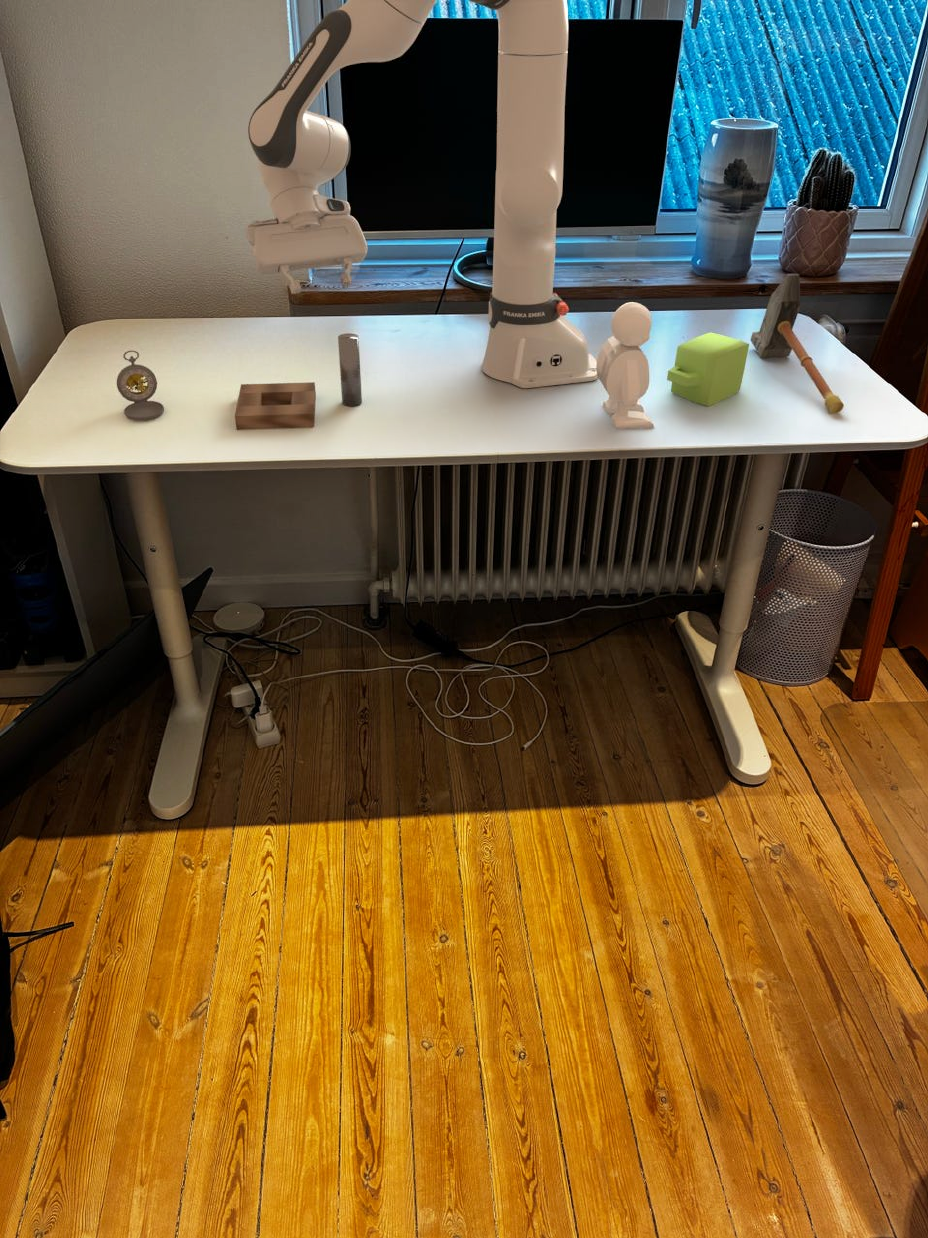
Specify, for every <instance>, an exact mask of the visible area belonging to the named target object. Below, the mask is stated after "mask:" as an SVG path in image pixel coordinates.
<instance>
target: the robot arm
mask: <svg viewBox="0 0 928 1238" xmlns="http://www.w3.org/2000/svg"><path fill="white" fill-rule="evenodd" d="M467 1H468V2H471V3H474V4H477V5H480V6H482V7H485V8H488V9H491V10H493V11H495V13H496V16H497V22H498V50H497V51H498V55H497V58H498V59H497V101H496V102H497V105H496V106H497V107H496V112H497V114H496V115H497V117H496V119H497V120H496V122H497V123H496V131H497V132H496V167H495V168H496V170H495V190H494V191H495V193H494V194H495V195H494V224H493V225H494V228H493V257H492V258H493V259H492V260H493V261H492V263H493V264H492V292H490V294H489V301H488V324H489V333H488V337H487V339H488V340H487V342H486V343H487V344H486V349H485V353H484V356H483V359H482V363H481V365H480V367H481V370H482V372H483V373H485V374H486V375H487V376H488V377H491V378H492V379H495V380H498V381H502V382H506V383H509V384H512V385H514V386H517V387H519V388H522V389H531V388H532V389H533V388H539V387H548V386H556V385H557V386H558V385H566V384H574V383H585V382H592V381H595V380H597V379H599V377H598V375H597V369H596V366H597V359H596V358H595V357H594V356H593V354H591V353H589V347H588V341H587V338H586V336H585V335H584V333H583V332H582V331H581V330H580V329H579V328H578V327H577V326H575V324H574V323H572V322H571V321H570V320H568V319H567V318H566V317H565V316H566V315H567V314H569V311H570V309H569V306H568V304H567V303H566V302H565V301H563V299H562V298H561V297H560V296H559V295H558V294H557V293H556V292H553V288H554V277H555V275H554V274H555V262H556V261H555V260H556V244H557V243H556V242H557V241H556V239H557V238H556V235H557V231H556V230H557V209H558V207H559V205H560V204H561V200H562V197H563V183H564V182H563V180H564V154H565V153H564V152H565V151H564V150H565V149H564V147H565V111H566V109H565V106H566V89H567V88H566V87H567V70H568V69H567V68H568V52H569V51H568V49H569V19H568V18H569V16H568V15H569V13H568V3H567V0H467ZM437 2H438V0H346V2H345V3H344V4H343V5H341V6H340V7H339V8H338V9H336V10H333V11H331V12H329V13H327V14H326V15H325V16H324V17H323V18H322V19H321V20H320V22H319V23H318V24H317V25H316V27H315V28H314V30H313V31H312V32H311V34H310V35H309V36H308V38H307V39H306V41H305V43H304V44H303V45H302V47H301V48H300V49H299V52H298V53H297V54H296V56H295V57H294V58H293V60H292V62H291V63H290V65H289V66H288V68H287V69H286V70H285V72H284V74H283V75H282V76H281V78H280V80H279V81H278V82H277V84H276V86H275V87H274V88H273V90H272V91H271V92H270V93H269V94H268V95H267V96H266V97H265V98H264V99H263V100H262V101H260V103H259V104H258V106H257V107H256V108H255V109H254V110H253V112H252V114H251V116H250V119H249V122H248V126H247V127H248V129H247V132H248V133H247V134H248V139H249V143H250V145H251V148H252V150H253V152H254V154H255V156H256V157H257V163H258V166H259V171H260V174H261V178H262V181H263V184H264V187H265V188H266V190H267V192H268V193H269V196H270V207H271V210H272V215H273V217H274V218H270V219H265V220H254V221H252V222H251V223H250V224H249V225H247V226H246V228H245V234H246V237H247V240H248V242H249V244H251V246H252V251H253V258H254V259H253V260H254V263H255V266H256V270H257V271H258V272H259V273H260V274H261V275H271V274H277V273H278V275H279V279H281V280H282V281H283V282H284V283H285V284H286V285H287V286H289V290H290V292H291V294H292V295H293V294H300V293H301V291H302V286H301V284H300V280H299V279H294V277H292V275H291V274H290V272H294V271H303V270H310V269H311V270H312V269H317V268H318V269H320V268H327V267H336V266H341V269H342V270H345V272H344V273H341V275H340V278H339V280H340V283H341V287H342V288H346V287H351V285H352V284H353V281H352V277H351V271H352V266H353V264H359V263H362V262H363V261H364V259H365V258H366V256H367V255H368V249H369V248H368V243H367V241H366V237H365V235H364V233H363V230H362V228H361V226H360V224H359V222H358V220H357V219H356V218H355V217H354V216H352V215H351V206H350V203H349V202H348V201H347V200H342V199H338V198H333V197H328V196H325V195H321V194H320V193H319V190H318V189H319V186H323V185H324V186H325V185H326V184H327V183H329V182H330V181H332V180H334V179H335V178H337V177H338V176H339V175H341V173H342V172H343V171H345V169H346V168H347V166H348V164H349V161H350V158H351V140H350V136H349V134H348V133H349V132H348V131H347V129H346V127H345V126H344V125H343V124H342V123H341V122H340V121H337V120H335V119H333V118H331V117H328V116H325V115H322V114H321V113H320V114H319V113H316V112H312V111H310V110H308V109H309V107H310V106H311V105H312V103H313V102H314V100H316V99H315V98H317V96H318V95H319V93H320V92H321V91H322V89H323V88H324V86H325V84H326V83H327V81H328V80H329V79H330V77H332V76H333V74H334V73H336V72H337V71H339V70H341V69H343V68H345V67H347V66H350V65H357V64H361V63H385V62H390V61H392V60H395V59H397V58H401V57H402V56H403V55H404V54H405V53H406V52H407V51H408V50H409V49H410V47H411V46H412V45H413V44H414V42H415V41H416V39H417V37H418V35H419V34H420V32H421V31H422V28H423V26H424V25H425V23H426V21H427V19H428V17H429V16H430V13H431V12H432V10H433V9H434V7H435V4H436V3H437Z"/></svg>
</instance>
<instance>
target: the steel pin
mask: <svg viewBox="0 0 928 1238" xmlns="http://www.w3.org/2000/svg"><path fill="white" fill-rule="evenodd" d="M359 341H360V339H359V335H358V334H356V333H352V332H351V333H349V332H347V333H342V334H339V335H338V336H337V344H338V355H339V356H338V357H339V358H338V359H339V372H340V373H339V374H340V375H339V376H340V388H341V389H340V390H341V402H342V406H345V407H350V408H351V407H359V406H360V405H362V403H363V400H362V395H363V394H362V380H361V379H362V377H361V361H360V358H361V357H360V342H359Z"/></svg>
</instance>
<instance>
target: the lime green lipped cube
mask: <svg viewBox="0 0 928 1238" xmlns="http://www.w3.org/2000/svg"><path fill="white" fill-rule="evenodd" d="M749 349H750V343H747V342H746V341H742V340H740V339H737V338H733V337H730V336H726V335H723V334H719V333H714V332H707V333H704V334H702V335H699V336H696V337H694V338H692V339H690V340H688V341H686V342H683V343H681V344H679V345H677V349H676V354H675V361H674V366H673V367H672V368H670V369H668V370H667V376H666V380H667V381H669V382H671V386H670V387H671V389H670V392H671V393H673V394H675V395H677V396H680V397H682V398H684V399H686V400H689V401H691V402H693V403H695V404H699V405H701V406H704V407H705V406H706V407H711V406H712V405H715V404H717V403H719V402H721V401H723V400H725V399H727V398H729V397H731V396H733V395H734V394H736V393H738V392H739V391H741V388H742V382H743V377H744V373H745V367H746V363H747V359H748V353H749Z"/></svg>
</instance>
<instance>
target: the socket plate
mask: <svg viewBox="0 0 928 1238" xmlns="http://www.w3.org/2000/svg"><path fill="white" fill-rule="evenodd" d="M316 393H317V392H316V383H315V382H314V381H313V382H312V381H311V382H279V383H278V382H277V383H275V382H274V383H272V382H271V383H243V384H242V383H241V384H240V388H239V393H238V396H237V397H238V398H237V403H236V408H235V413H234V421H235V425H236V428H235V429H236V430H237V431H238V430H239V431H240V430H267V429H270V430H271V429H273V430H275V429H298V428H299V429H303V428H304V429H305V428H315V423H316V422H315V419H316V399H317V397H316V396H317V395H316Z"/></svg>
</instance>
